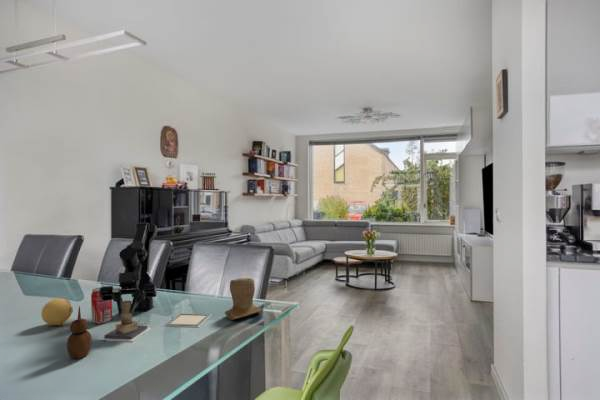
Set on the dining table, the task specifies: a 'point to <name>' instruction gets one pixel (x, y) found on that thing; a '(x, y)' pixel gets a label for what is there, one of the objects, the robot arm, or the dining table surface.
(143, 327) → the ink pad
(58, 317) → the stress ball
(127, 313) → the stamp
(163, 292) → the dining table surface
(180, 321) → the beige flat square
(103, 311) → the soda can
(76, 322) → the wooden figurine
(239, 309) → the brown flared block
